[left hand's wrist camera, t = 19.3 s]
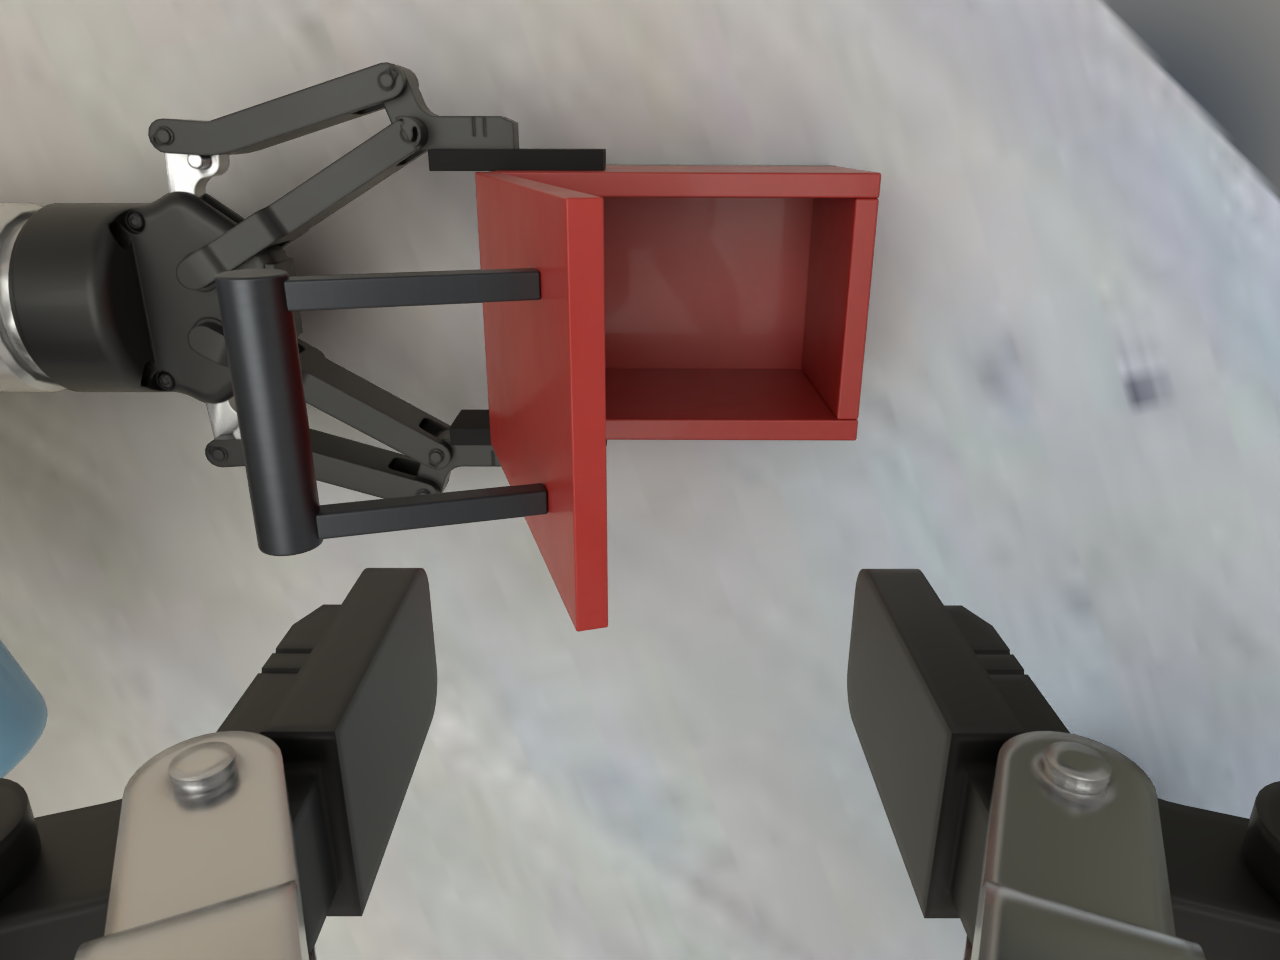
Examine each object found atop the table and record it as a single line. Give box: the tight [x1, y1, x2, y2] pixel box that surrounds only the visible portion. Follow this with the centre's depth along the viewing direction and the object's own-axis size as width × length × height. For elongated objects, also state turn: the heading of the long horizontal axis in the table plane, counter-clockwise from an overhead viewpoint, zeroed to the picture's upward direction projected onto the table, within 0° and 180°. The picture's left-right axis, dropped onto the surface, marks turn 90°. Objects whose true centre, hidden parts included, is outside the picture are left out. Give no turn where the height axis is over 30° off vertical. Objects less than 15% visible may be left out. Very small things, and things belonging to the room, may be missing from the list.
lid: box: [215, 172, 608, 631], centre depth 26 cm, size 15×10×8 cm
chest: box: [491, 165, 881, 440], centre depth 38 cm, size 14×10×9 cm
